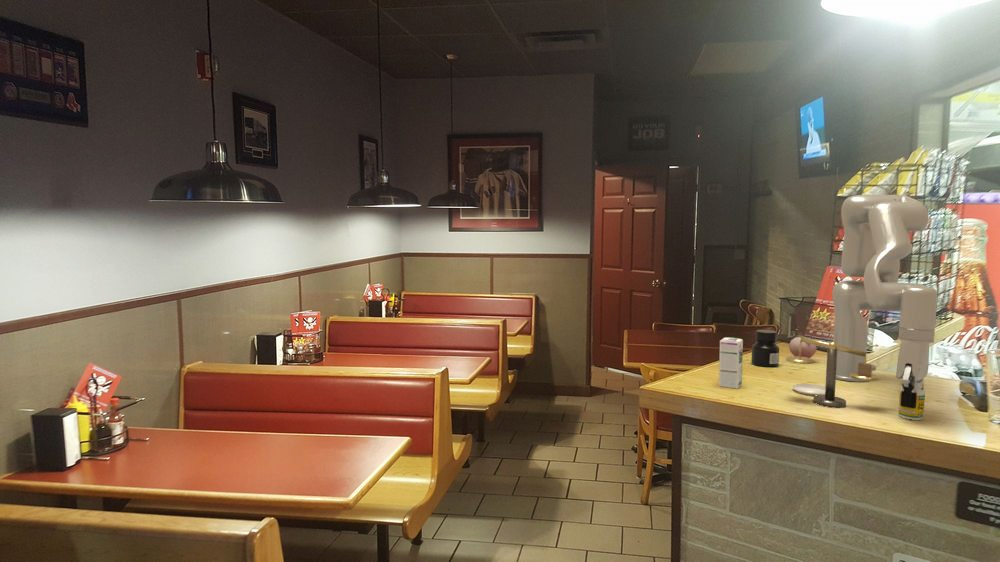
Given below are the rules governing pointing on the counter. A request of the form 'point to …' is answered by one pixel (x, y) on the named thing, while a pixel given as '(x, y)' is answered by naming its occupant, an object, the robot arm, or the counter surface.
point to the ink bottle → (765, 349)
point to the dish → (809, 389)
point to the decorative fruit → (802, 348)
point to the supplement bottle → (918, 411)
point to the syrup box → (730, 362)
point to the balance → (834, 370)
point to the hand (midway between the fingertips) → (911, 404)
